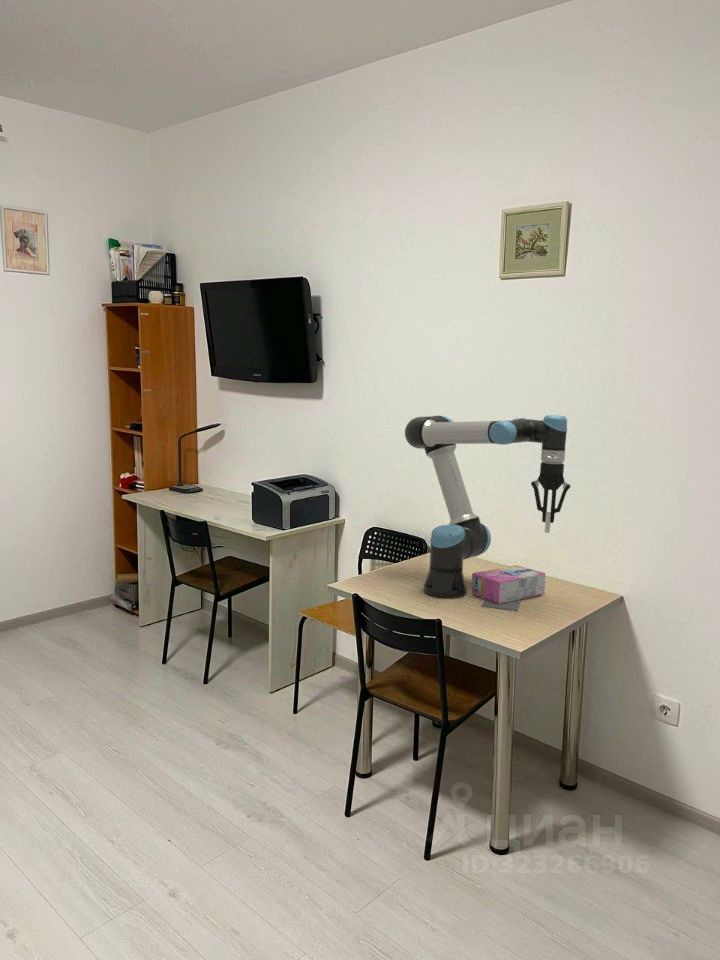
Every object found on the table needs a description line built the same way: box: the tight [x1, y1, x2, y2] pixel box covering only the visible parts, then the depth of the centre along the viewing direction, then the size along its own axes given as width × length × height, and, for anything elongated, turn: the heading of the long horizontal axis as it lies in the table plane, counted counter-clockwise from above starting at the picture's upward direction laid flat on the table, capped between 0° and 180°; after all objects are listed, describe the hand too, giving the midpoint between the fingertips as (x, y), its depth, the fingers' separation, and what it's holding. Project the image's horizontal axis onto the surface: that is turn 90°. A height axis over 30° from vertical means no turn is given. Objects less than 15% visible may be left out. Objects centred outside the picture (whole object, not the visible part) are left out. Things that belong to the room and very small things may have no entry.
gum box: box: [471, 564, 546, 604], centre depth 263 cm, size 24×8×14 cm
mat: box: [480, 598, 522, 612], centre depth 258 cm, size 12×20×1 cm, turn 162°
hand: (547, 531), depth 250 cm, fingers closed
